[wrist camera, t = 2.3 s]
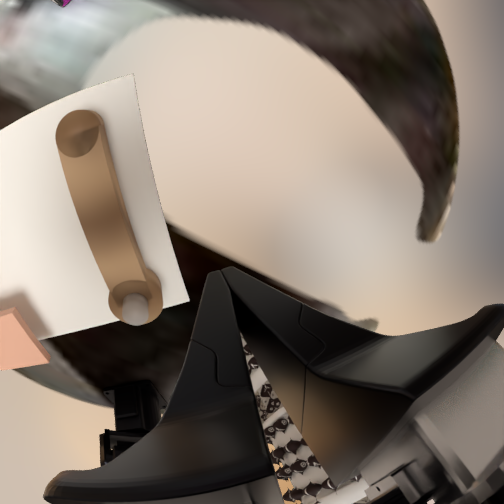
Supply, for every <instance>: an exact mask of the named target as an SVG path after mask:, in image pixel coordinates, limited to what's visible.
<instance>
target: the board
mask: <svg viewBox="0 0 504 504" xmlns="http://www.w3.org/2000/svg"><path fill="white" fill-rule="evenodd" d="M74 110H92V111H95V112H96V113H98V114H99V115H100V116H101V117H102V119H103V121H104V125H105V130H106V134H107V139H108V143H109V148H110V152H111V156H112V160H113V164H114V168H115V172H116V176H117V179H118V183H119V187H120V190H121V194H122V197H123V200H124V204H125V207H126V210H127V214H128V217H129V220H130V223H131V226H132V229H133V232H134V235H135V238H136V241H137V244H138V247H139V249H140V252H141V255H142V258H143V260H144V263H145V266H146V268H148V269H150V270H151V271H153V272H154V273H155V274H156V275H157V276H158V278H159V280H160V282H161V287H162V296H163V308H167V307H170V306H174V305H177V304H181V303H184V302H188V301H190V300H189V297H188V294H187V291H186V288H185V285H184V282H183V279H182V275H181V272H180V269H179V266H178V263H177V260H176V256H175V253H174V250H173V246H172V243H171V240H170V236H169V233H168V229H167V226H166V222H165V218H164V215H163V211H162V207H161V203H160V200H159V196H158V192H157V188H156V184H155V180H154V176H153V172H152V167H151V163H150V159H149V154H148V149H147V145H146V140H145V135H144V130H143V125H142V120H141V115H140V109H139V104H138V98H137V92H136V86H135V80H134V74H130V75H126V76H123V77H120V78H116V79H113V80H110V81H107V82H104V83H101V84H98V85H95V86H92V87H90V88H87V89H84V90H81V91H79V92H76V93H74V94H71V95H69V96H66V97H64V98H62V99H60V100H57V101H55V102H53V103H51V104H49V105H46V106H44V107H42V108H40V109H38V110H36V111H34V112H32V113H30V114H28V115H27V116H25V117H23V118H21V119H19V120H17V121H16V122H14V123H12V124H10V125H9V126H7V127H5V128H4V129H2V130H0V311H3V310H7V309H10V308H13V307H16V309H17V310H18V312H19V314H20V315H21V317H22V318H23V320H24V321H25V323H26V324H27V325H28V327H29V328H30V330H31V331H32V333H33V334H34V335H35V337H36V338H37V339H38V340H42V339H46V338H50V337H54V336H59V335H63V334H67V333H71V332H75V331H79V330H83V329H87V328H91V327H95V326H99V325H103V324H107V323H111V322H115V321H119V319H118V318H117V317H115V316H114V314H113V313H112V312H111V310H110V308H109V305H108V297H109V289H108V287H107V285H106V283H105V280H104V278H103V276H102V274H101V272H100V270H99V267H98V265H97V263H96V261H95V258H94V256H93V254H92V251H91V249H90V247H89V244H88V242H87V239H86V237H85V234H84V231H83V229H82V226H81V224H80V221H79V218H78V215H77V213H76V210H75V207H74V204H73V201H72V198H71V195H70V192H69V188H68V185H67V182H66V179H65V175H64V172H63V168H62V164H61V161H60V157H59V153H58V149H57V145H56V139H55V134H56V129H57V126H58V124H59V122H60V121H61V119H62V118H63V117H64V116H65V115H66V114H68V113H69V112H71V111H74ZM163 308H162V309H163Z"/></svg>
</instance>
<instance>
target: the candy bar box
mask: <svg viewBox="0 0 504 504" xmlns="http://www.w3.org/2000/svg"><path fill="white" fill-rule="evenodd" d="M51 1H53V2H54V3H56V4H58V5H59V6H61V7H64V6H65V5H66V4H68V3H69V2H70V1H71V0H51Z"/></svg>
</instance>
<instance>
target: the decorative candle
mask: <svg viewBox="0 0 504 504" xmlns="http://www.w3.org/2000/svg"><path fill="white" fill-rule="evenodd" d="M239 331H240V330H239ZM240 335H241V339H242V344H243V348H244V352H245V356H246V361H247V365H248V369H249V373H250V377H251V381H252V385H253V390H254V394H255V398H256V402H257V406H258V409H259V413H260V417H261V421H262V425H263V429H264V433H265V436H266V440H267V443H269V444H272V445H274V447H275V450H274V451H273V450H272V452H271V453H270V455H271V459H272V462H273V464H278V465H279V462H281V463H282V464H283V467H282V468H281V467H279V469H278V470H277V471H276V472H275V473H276V477H277V479H283V480H288V478H289V479H290V481H291V483H292V485H293V487H294V488H293V489H292V491H291V490H289V489H288V491H287V492H286V493H285V494H284V495H283V499H284V500H286V501H292V502H295V500H300V501H301V502H302V503H301V504H365V503H367V502H369V501H370V500H369V498H368V496H367V495H366V493H365V491H364V490H366V489H367V488H369V486H368V484H367V483H366V481H365V480H364V478H363V477H362V475H361V474H360V475H358V476H356V477H354V478H352V479H350V480H348V481H347V482H345V483H343V484H341V485H339V486H335V485H334V484H333V482H332V481H331V479H330V478H329V477H328V475H327V474H326V472H325V471H324V469H323V468H322V466H321V465H320V463H319V462H318V460H317V459H316V457H315V456H314V454H313V453H312V451H311V450H310V448H309V446H308V445H307V443H306V442H305V440H304V439H303V437H302V435H301V434H300V432H299V431H298V429H297V428H296V426H295V424H294V423H293V421H292V420H291V418H290V416H289V415H288V413H287V411H286V410H285V408H284V407H283V405H282V403H281V402H280V400H279V398H278V397H277V395H276V393H275V392H274V390H273V388H272V387H271V385H270V383H269V382H268V380H267V378H266V376H265V375H264V373H263V371H262V369H261V368H260V366H259V364H258V363H257V361H256V359H255V357H254V356H253V354H252V352H251V350H250V348H249V347H248V345H247V343H246V341H245V340H244V338H243V336H242V334H241V332H240Z"/></svg>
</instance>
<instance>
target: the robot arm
mask: <svg viewBox="0 0 504 504" xmlns="http://www.w3.org/2000/svg"><path fill="white" fill-rule="evenodd" d="M503 328H504V304H492V305H488V306H484V307H483V308H482V309H480V310H479V311H478V312H477V313H476V314H475V315H474V316H472V317H470V318H468V319H466V320H463V321H461V322H458V323H455V324H451V325H447V326H443V327H438V328H434V329H430V330H425V331H420V332H415V333H411V334H406V335H400V336H387V335H382V334H379V333H375V332H373V331H370V330H367V329H364V328H361V327H359V326H356V325H353V324H350V323H347V322H345V321H342V320H339V319H337V318H334V317H332V316H329V315H327V314H325V313H323V312H320V311H318V310H316V309H314V308H312V307H310V306H308V305H306V304H303V303H302V302H300V301H298V300H296V299H294V298H292V297H290V296H288V295H286V294H284V293H282V292H281V291H279V290H277V289H275V288H273V287H271V286H269V285H267V284H265V283H263V282H261V281H259V280H257V279H256V278H254V277H252V276H250V275H248V274H246V273H244V272H242V271H240V270H238V269H237V268H235V267H228V268H224V269H222V270H221V271H220V270H217V271H214V272H210V273H209V274H208V276H207V279H206V283H205V287H204V290H203V294H202V298H201V301H200V305H199V309H198V313H197V316H196V320H195V324H194V328H193V332H192V336H191V341H190V343H189V347H188V351H187V355H186V358H185V361H184V364H183V367H182V370H181V372H180V375H179V378H178V380H177V383H176V385H175V387H174V390H173V392H172V395H171V397H170V400H169V402H168V404H167V403H166V401H165V400H164V399H163V397H162V396H161V395H160V393H159V392H158V391H157V389H156V388H155V387H154V385H153V384H152V383H151V382H150V381H148V380H146V381H141V382H137V383H132V384H127V385H122V386H117V387H112V388H106V389H104V390H103V393H104V395H105V396H106V397H107V398H108V399H109V400H110V401H111V402H112V403H113V404H114V414H115V427H116V431H112V430H109V429H105V433H103V434H100V463H101V467H99V468H95V469H92V470H84V471H82V470H79V471H78V470H69V471H68V470H67V471H62V472H60V473H59V474H58V475H57V476H56V477H54V478H53V479H52V480H51V481H50V483H49V484H48V485H47V487H46V489H45V492H44V495H43V498H44V500H46V501H47V502H49V503H51V504H284V500H283V497H282V494H281V491H280V487H279V484H278V480H277V477H276V473H275V470H274V466H273V462H272V459H271V455H270V451H269V448H268V444H267V440H266V436H265V433H264V429H263V425H262V421H261V417H260V413H259V409H258V406H257V402H256V398H255V394H254V390H253V385H252V381H251V377H250V373H249V369H248V365H247V361H246V356H245V352H244V348H243V344H242V339H241V335H240V332H241V334H242V336H243V338H244V340H245V341H246V343H247V345H248V347H249V348H250V350H251V352H252V354H253V356H254V357H255V359H256V361H257V363H258V364H259V366H260V368H261V369H262V371H263V373H264V375H265V376H266V378H267V380H268V382H269V383H270V385H271V387H272V388H273V390H274V392H275V393H276V395H277V397H278V398H279V400H280V402H281V403H282V405H283V407H284V408H285V410H286V411H287V413H288V415H289V416H290V418H291V420H292V421H293V423H294V424H295V426H296V428H297V429H298V431H299V432H300V434H301V435H302V437H303V439H304V440H305V442H306V443H307V445H308V446H309V448H310V450H311V451H312V453H313V454H314V456H315V457H316V459H317V460H318V462H319V463H320V465H321V466H322V468H323V469H324V471H325V472H326V474H327V475H328V477H329V478H330V479H331V481H332V482H333V484H334V485H335V486H339V485H341V484H343V483H345V482H347V481H348V480H350V479H352V478H354V477H356V476H358V475H360V474H361V475H362V477H363V478H364V480H365V481H366V483H367V484H368V486H369V488H367V489H366V490H364V491H365V493H366V495H367V496H368V498H369V500H370V501H369V502H367V503H365V504H427V502H428V501H429V500H431V499H433V500H434V502H435V503H434V504H504V348H503V347H502V346H501V345H500V344H499V343H498V342H497V341H496V339H497V338H498V336H499V335H500V333H501V331H502V330H503ZM239 330H240V331H239ZM165 408H166V410H165V412H164V414H163V416H162V418H161V412H160V409H165ZM111 449H113V450H111Z"/></svg>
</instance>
